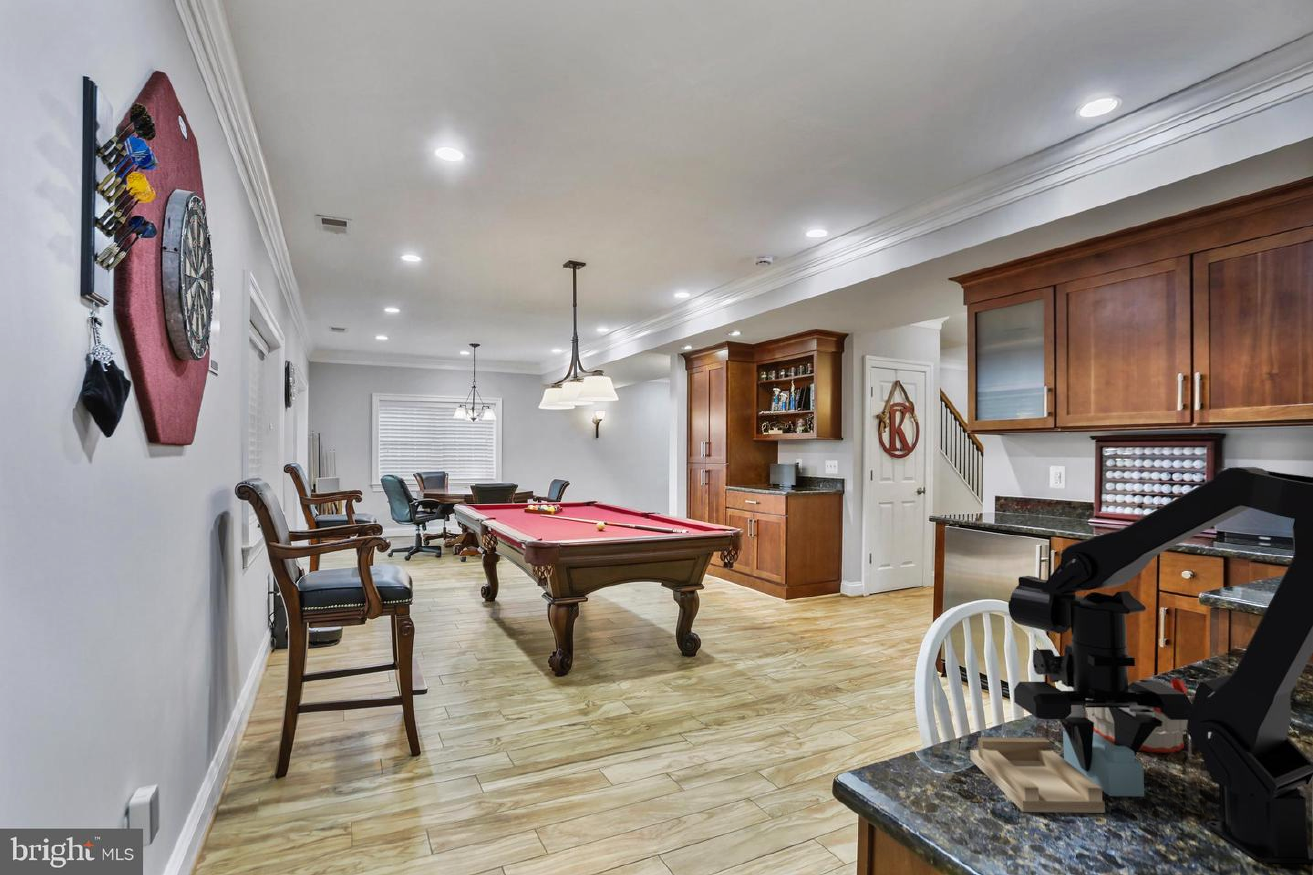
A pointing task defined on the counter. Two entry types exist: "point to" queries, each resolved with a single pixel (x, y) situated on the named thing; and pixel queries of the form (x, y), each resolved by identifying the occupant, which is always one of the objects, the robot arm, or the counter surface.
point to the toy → (1161, 737)
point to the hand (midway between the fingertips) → (1103, 769)
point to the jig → (1036, 776)
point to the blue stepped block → (1110, 767)
